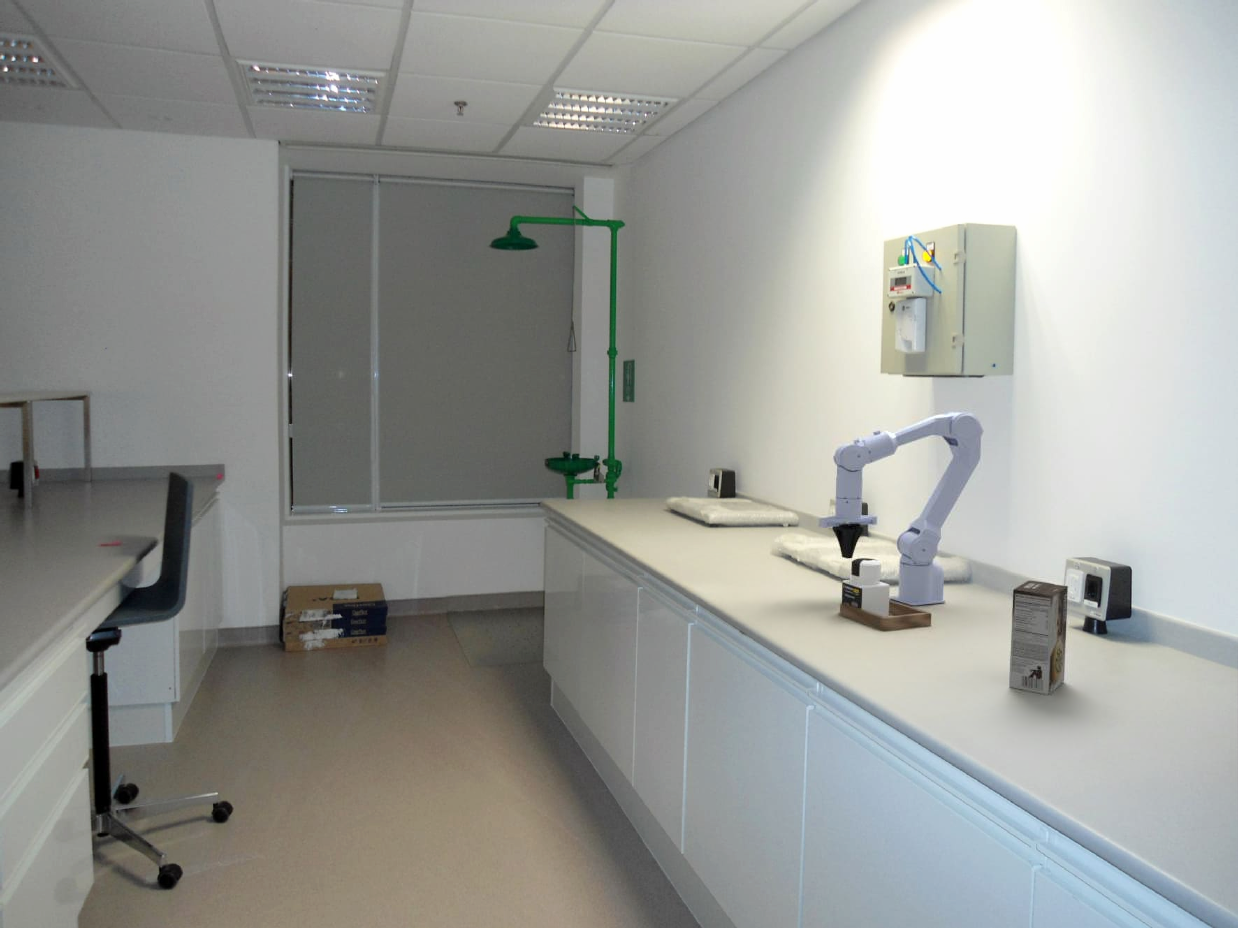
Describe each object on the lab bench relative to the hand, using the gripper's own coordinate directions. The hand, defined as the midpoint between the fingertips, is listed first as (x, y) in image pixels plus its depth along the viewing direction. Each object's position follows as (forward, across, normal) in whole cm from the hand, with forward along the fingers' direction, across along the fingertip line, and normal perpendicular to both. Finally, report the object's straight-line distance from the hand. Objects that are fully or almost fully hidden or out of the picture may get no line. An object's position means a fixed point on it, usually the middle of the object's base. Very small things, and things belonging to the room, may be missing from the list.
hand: (847, 557), depth 209 cm
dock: (+10, +4, +17) cm, 20 cm away
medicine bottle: (+10, +5, +13) cm, 17 cm away
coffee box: (+10, +8, +61) cm, 62 cm away
